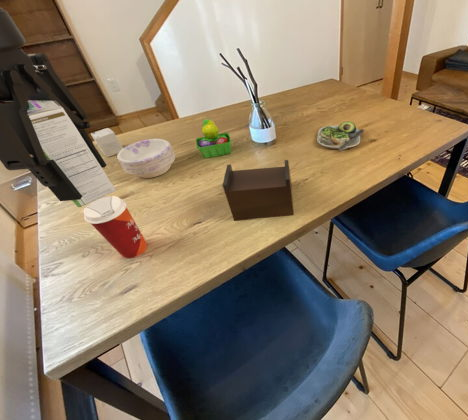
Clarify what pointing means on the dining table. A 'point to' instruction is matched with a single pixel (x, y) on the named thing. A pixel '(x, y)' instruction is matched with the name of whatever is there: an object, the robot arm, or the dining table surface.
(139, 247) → the paper cup
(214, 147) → the fruit basket
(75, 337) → the dining table surface
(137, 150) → the paper bowls
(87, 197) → the syrup box
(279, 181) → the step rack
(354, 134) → the salad plate
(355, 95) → the dining table surface
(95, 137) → the product carton
